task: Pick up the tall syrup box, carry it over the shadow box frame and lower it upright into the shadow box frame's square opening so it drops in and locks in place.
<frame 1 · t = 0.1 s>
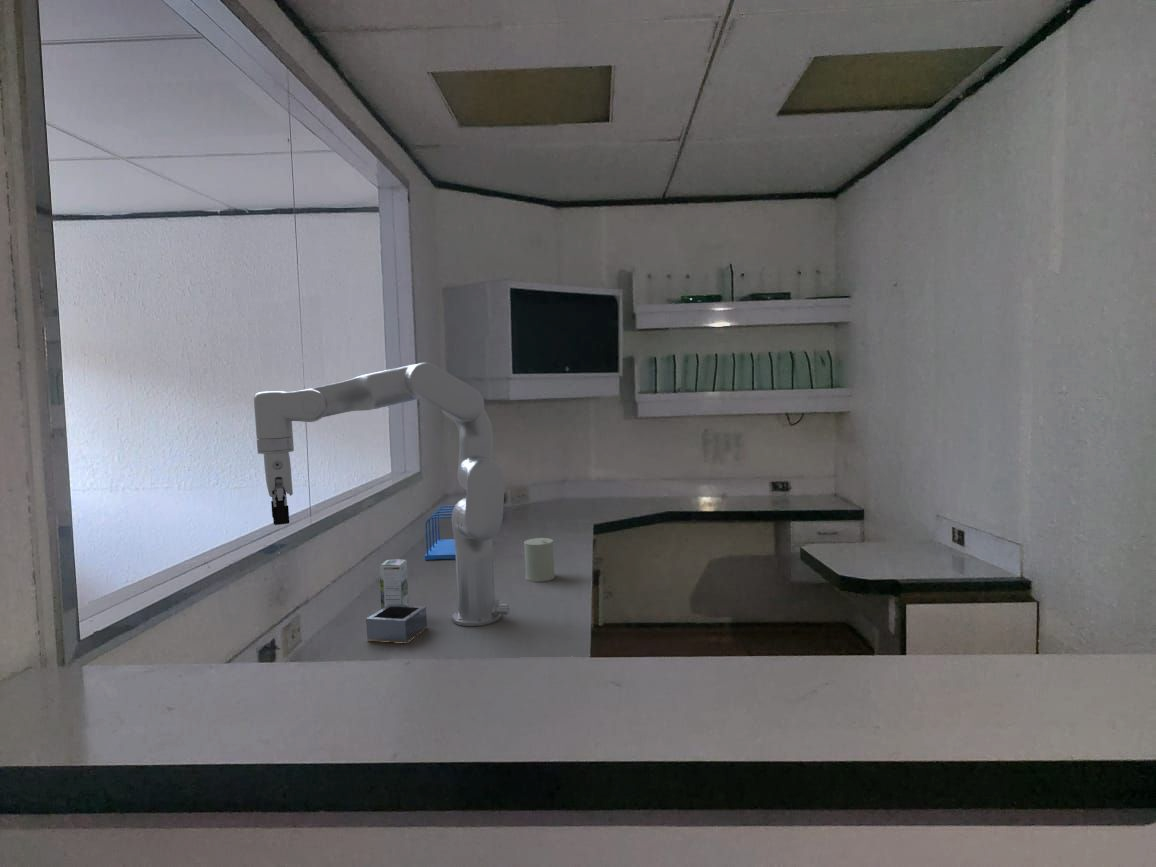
hand: (280, 520, 154), 31 cm above the countertop, tool pointing down, fingers open, 9 cm apart
file sorter: (454, 552, 250), on the countertop
shadow box frame: (397, 634, 165), on the countertop
can: (540, 578, 211), on the countertop
syrup box: (395, 616, 180), on the countertop
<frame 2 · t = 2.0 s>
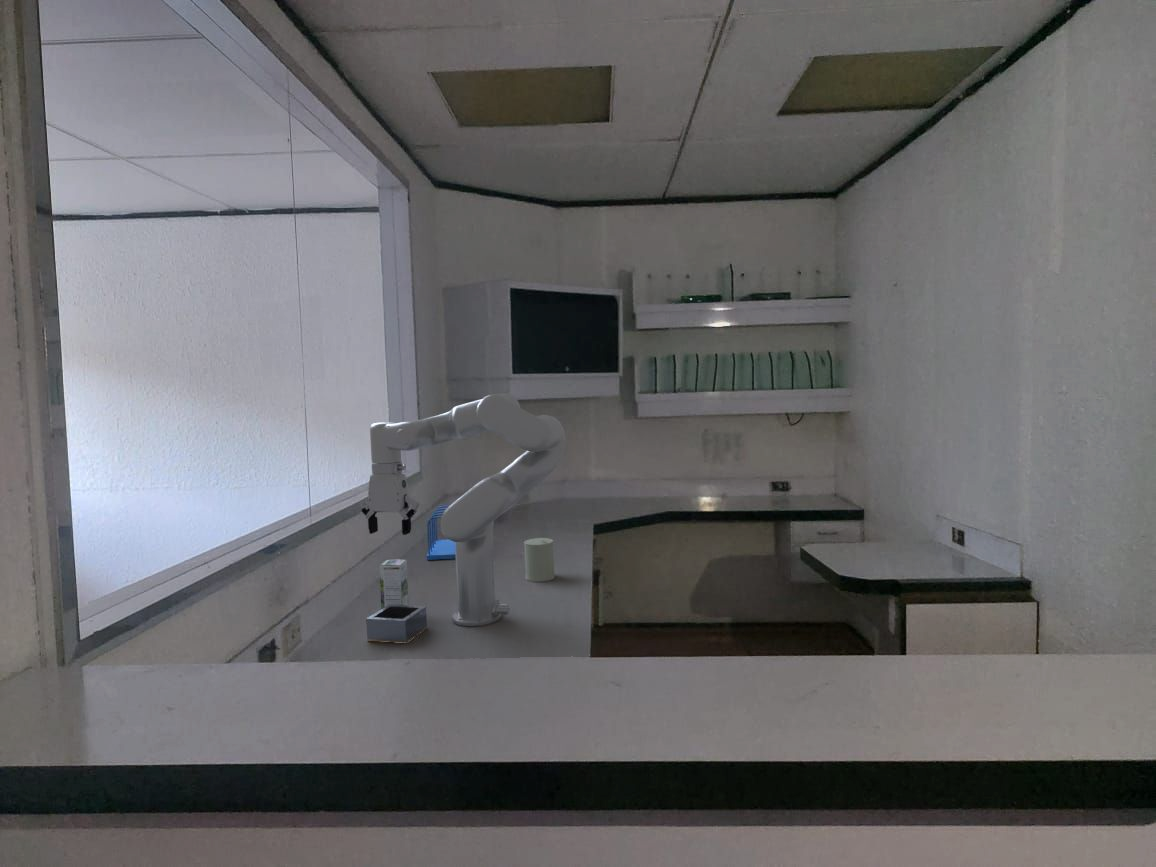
hand: (389, 533, 178), 22 cm above the countertop, tool pointing down, fingers open, 9 cm apart
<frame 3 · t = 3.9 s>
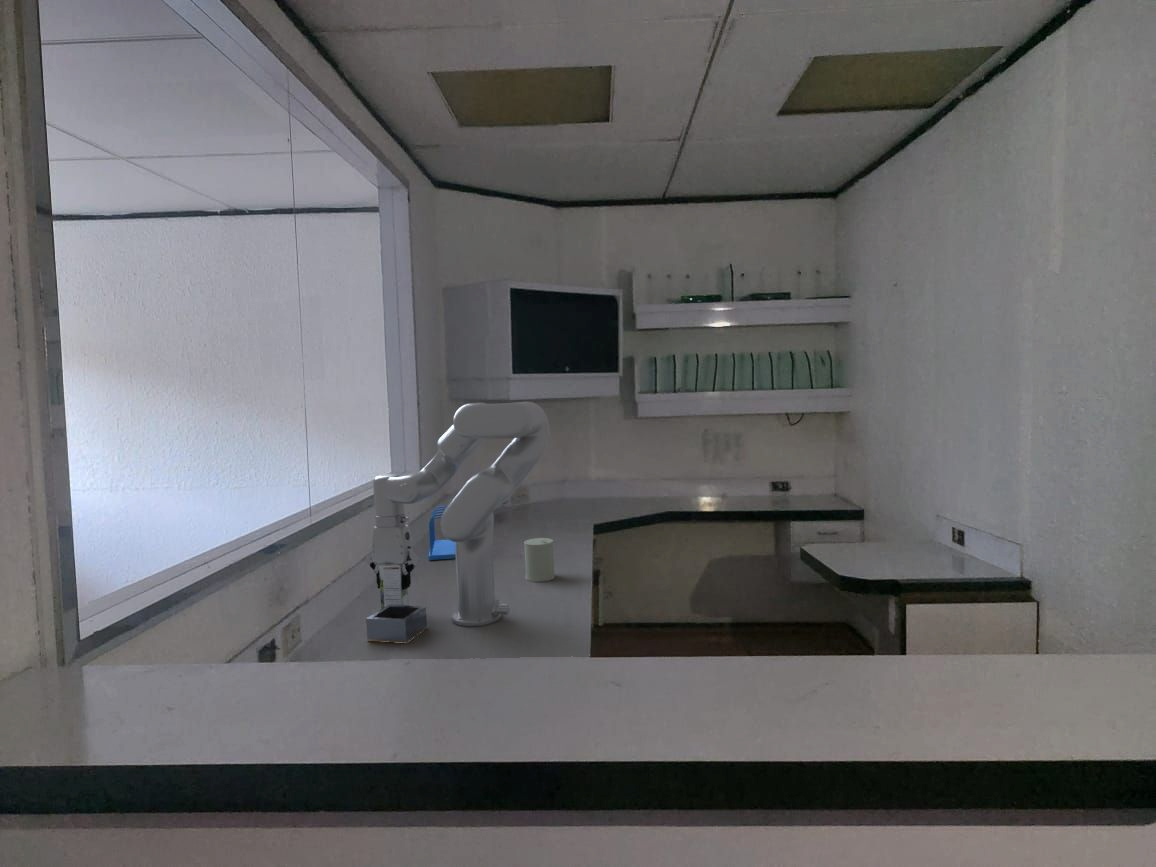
hand: (394, 586, 179), 8 cm above the countertop, tool pointing down, fingers closed on syrup box, 6 cm apart
syrup box: (395, 615, 180), on the countertop, touching gripper
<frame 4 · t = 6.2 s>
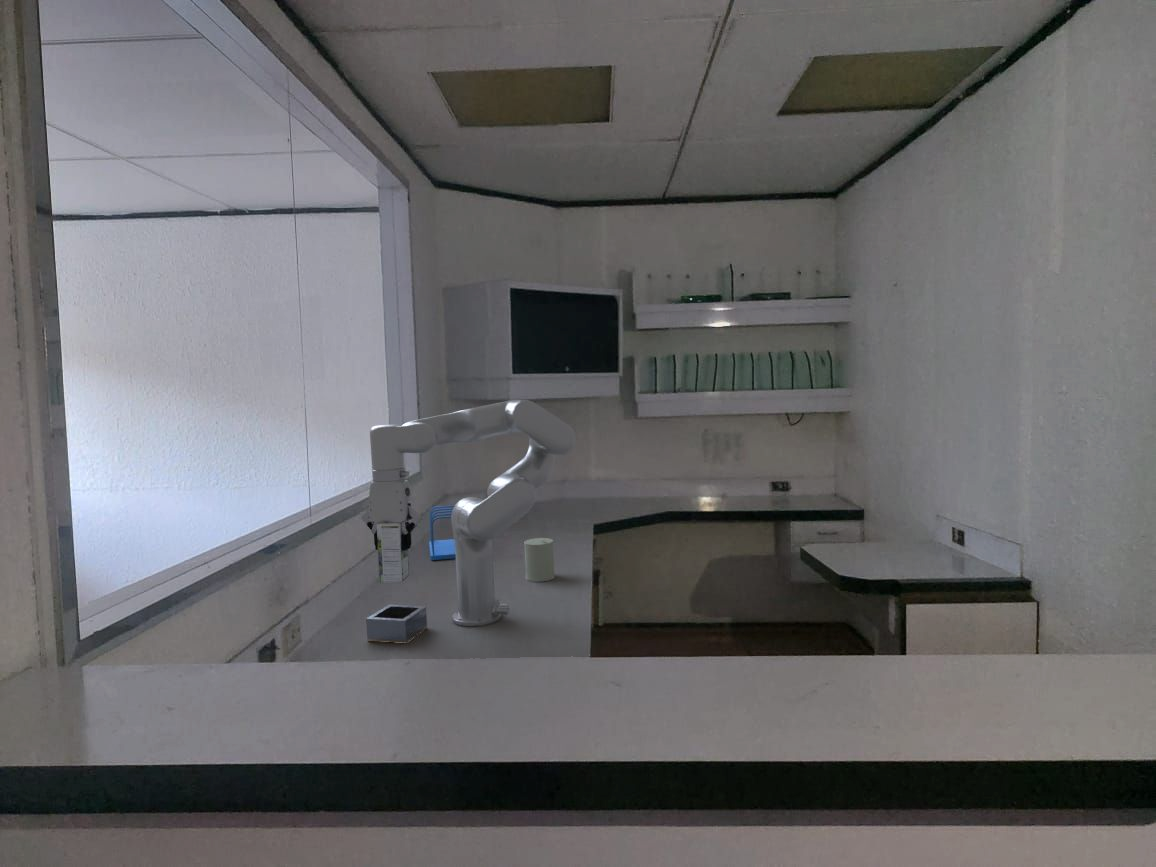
hand: (393, 548, 164), 21 cm above the countertop, tool pointing down, fingers closed on syrup box, 6 cm apart
syrup box: (395, 580, 165), point 14 cm above the countertop, touching gripper
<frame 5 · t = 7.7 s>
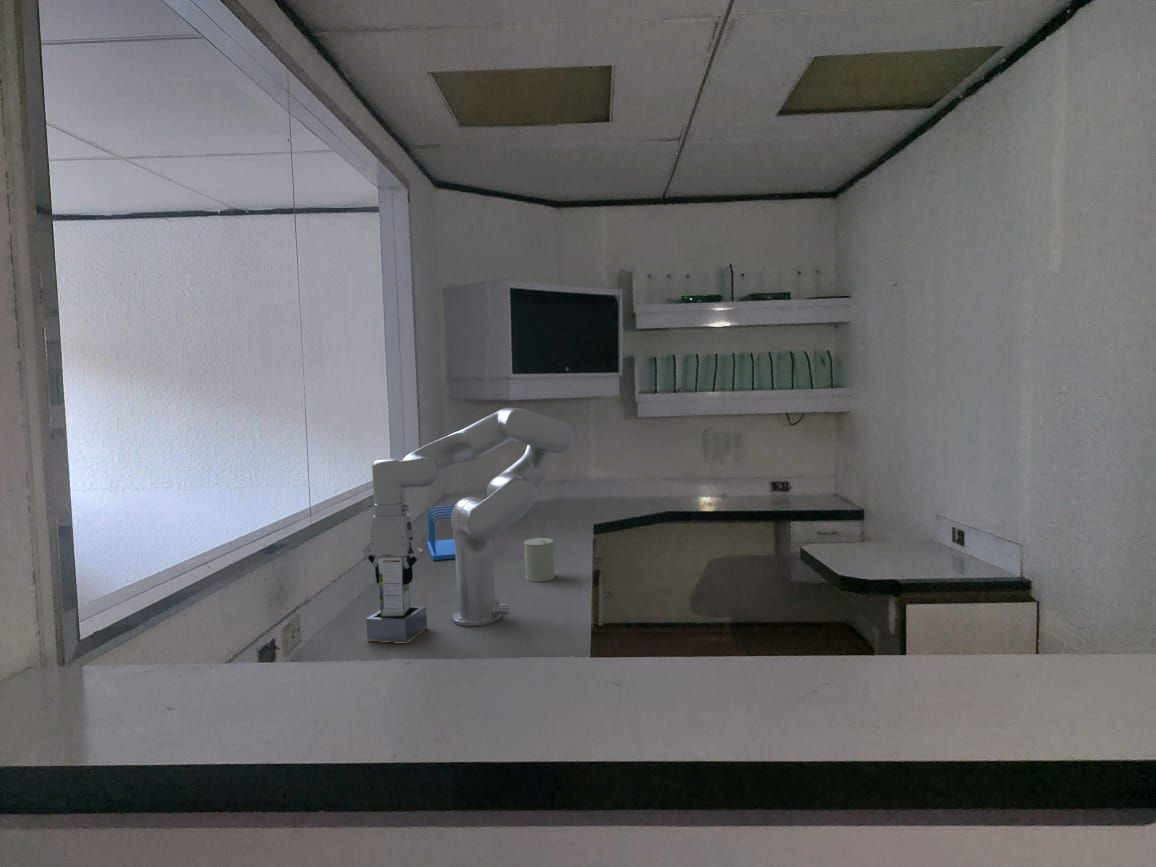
hand: (394, 581, 164), 13 cm above the countertop, tool pointing down, fingers closed on syrup box, 6 cm apart
syrup box: (396, 613, 165), point 5 cm above the countertop, touching gripper
when the fingers open (10 cm above the countertop, at t = 8.9 s): syrup box drops 2 cm, resting on shadow box frame.
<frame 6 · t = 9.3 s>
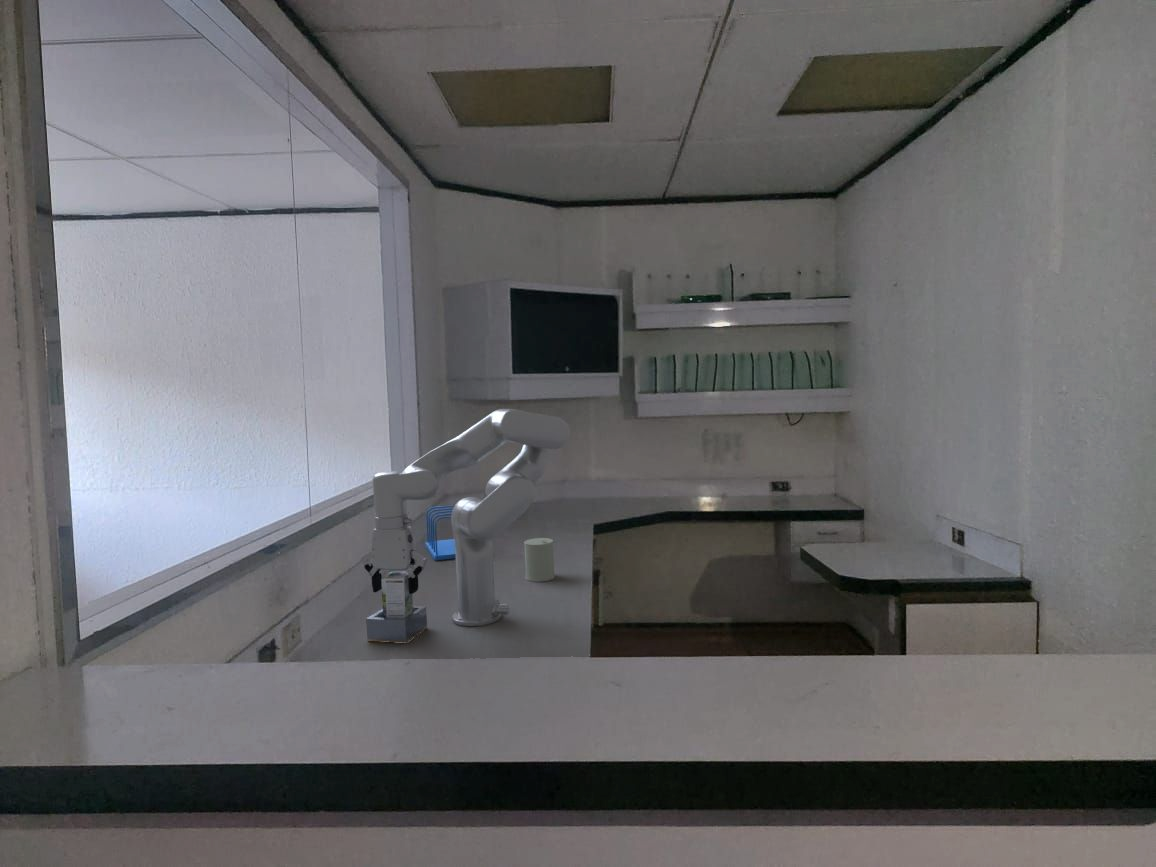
hand: (395, 591, 165), 11 cm above the countertop, tool pointing down, fingers open, 9 cm apart
syrup box: (399, 633, 165), resting on shadow box frame
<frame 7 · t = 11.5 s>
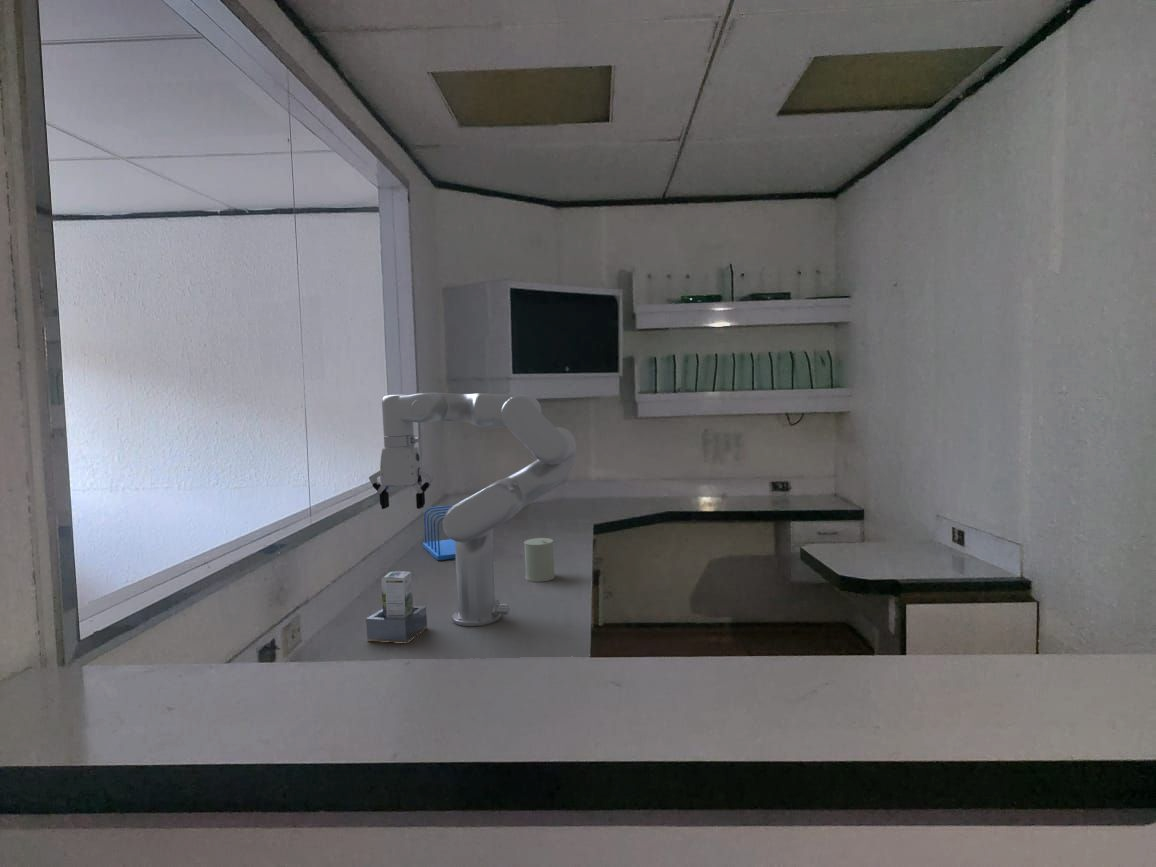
hand: (402, 507, 175), 29 cm above the countertop, tool pointing down, fingers open, 9 cm apart
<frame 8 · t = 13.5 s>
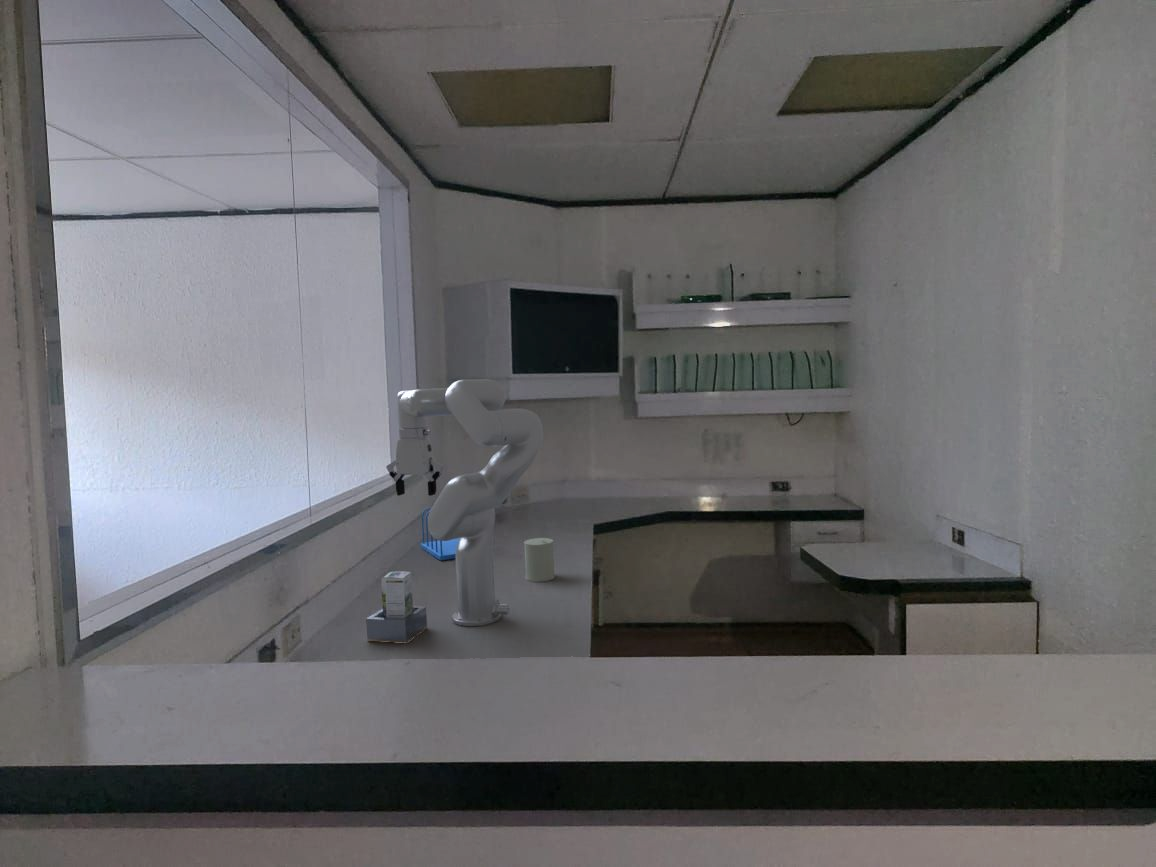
hand: (416, 494, 190), 30 cm above the countertop, tool pointing down, fingers open, 9 cm apart
at the end: syrup box 0.4 cm off-centre on the shadow box frame, point 0.4 cm above the shadow box frame's base; syrup box tilted 0°; the gripper is holding nothing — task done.
